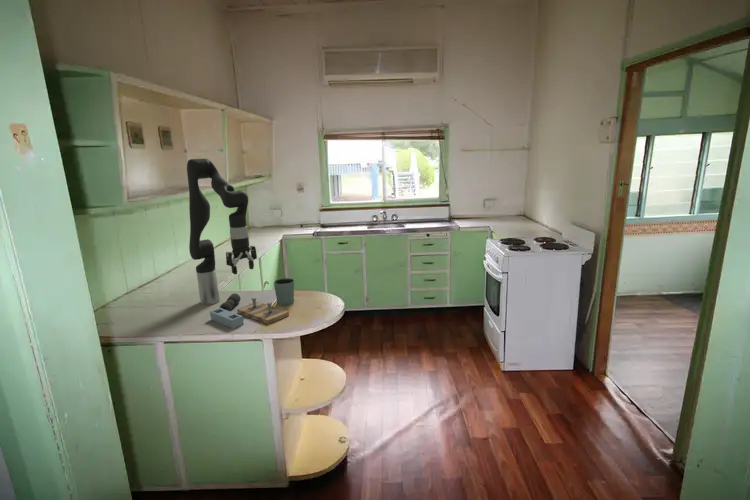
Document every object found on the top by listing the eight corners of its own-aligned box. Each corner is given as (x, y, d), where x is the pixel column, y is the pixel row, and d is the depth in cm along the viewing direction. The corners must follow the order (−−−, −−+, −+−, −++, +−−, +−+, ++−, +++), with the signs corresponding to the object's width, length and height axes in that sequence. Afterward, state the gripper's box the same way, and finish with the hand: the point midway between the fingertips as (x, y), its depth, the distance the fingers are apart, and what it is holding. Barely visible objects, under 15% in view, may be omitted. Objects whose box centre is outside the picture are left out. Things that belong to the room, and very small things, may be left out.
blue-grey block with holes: (211, 319, 192) (209, 311, 192) (221, 315, 197) (220, 307, 196) (233, 328, 182) (231, 320, 181) (243, 324, 186) (242, 316, 185)
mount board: (237, 313, 199) (235, 299, 197) (258, 305, 208) (256, 292, 206) (268, 324, 185) (266, 310, 183) (289, 315, 194) (287, 301, 192)
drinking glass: (272, 303, 210) (269, 281, 207) (288, 298, 217) (286, 276, 214) (283, 308, 203) (280, 285, 200) (300, 302, 210) (298, 280, 207)
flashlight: (230, 314, 198) (228, 304, 197) (219, 314, 198) (217, 304, 197) (241, 302, 213) (240, 292, 212) (231, 302, 213) (229, 293, 212)
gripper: (247, 232, 187) (251, 266, 191) (220, 238, 176) (224, 274, 180) (258, 234, 182) (261, 268, 187) (230, 240, 172) (234, 277, 176)
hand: (243, 271), depth 183 cm, fingers open, 8 cm apart
